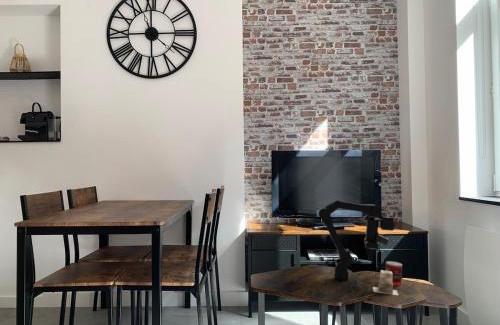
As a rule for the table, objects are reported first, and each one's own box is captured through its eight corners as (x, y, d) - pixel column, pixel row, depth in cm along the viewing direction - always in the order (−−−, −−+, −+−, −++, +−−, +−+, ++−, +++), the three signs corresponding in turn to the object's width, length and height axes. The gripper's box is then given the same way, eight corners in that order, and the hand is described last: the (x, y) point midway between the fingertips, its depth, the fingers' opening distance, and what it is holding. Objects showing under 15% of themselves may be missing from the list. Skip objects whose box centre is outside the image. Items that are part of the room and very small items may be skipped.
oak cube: (380, 283, 179) (381, 272, 179) (379, 280, 183) (380, 270, 184) (391, 284, 177) (392, 274, 178) (390, 281, 182) (391, 271, 182)
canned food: (386, 281, 200) (387, 260, 200) (402, 284, 196) (403, 263, 196) (382, 284, 193) (384, 263, 194) (399, 288, 189) (400, 266, 189)
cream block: (379, 291, 178) (379, 283, 178) (378, 288, 184) (378, 279, 184) (392, 293, 177) (393, 285, 177) (391, 290, 182) (391, 281, 183)
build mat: (373, 292, 178) (373, 291, 178) (372, 288, 186) (372, 286, 186) (398, 296, 175) (398, 295, 175) (396, 291, 183) (396, 290, 183)
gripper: (390, 233, 184) (388, 265, 184) (386, 228, 202) (384, 257, 202) (366, 230, 187) (364, 262, 187) (365, 226, 205) (363, 255, 205)
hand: (370, 259), depth 195 cm, fingers open, 9 cm apart
